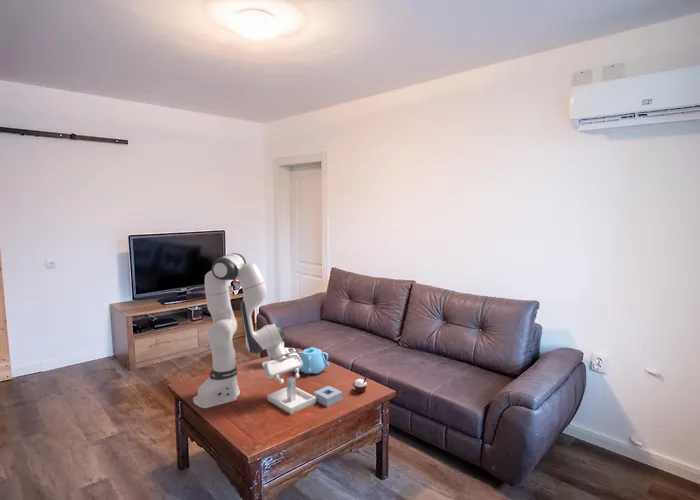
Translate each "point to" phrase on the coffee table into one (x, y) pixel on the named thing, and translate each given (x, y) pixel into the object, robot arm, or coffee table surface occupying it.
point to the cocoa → (361, 384)
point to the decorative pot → (313, 360)
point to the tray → (292, 407)
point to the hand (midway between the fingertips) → (290, 380)
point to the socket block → (328, 396)
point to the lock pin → (291, 389)
